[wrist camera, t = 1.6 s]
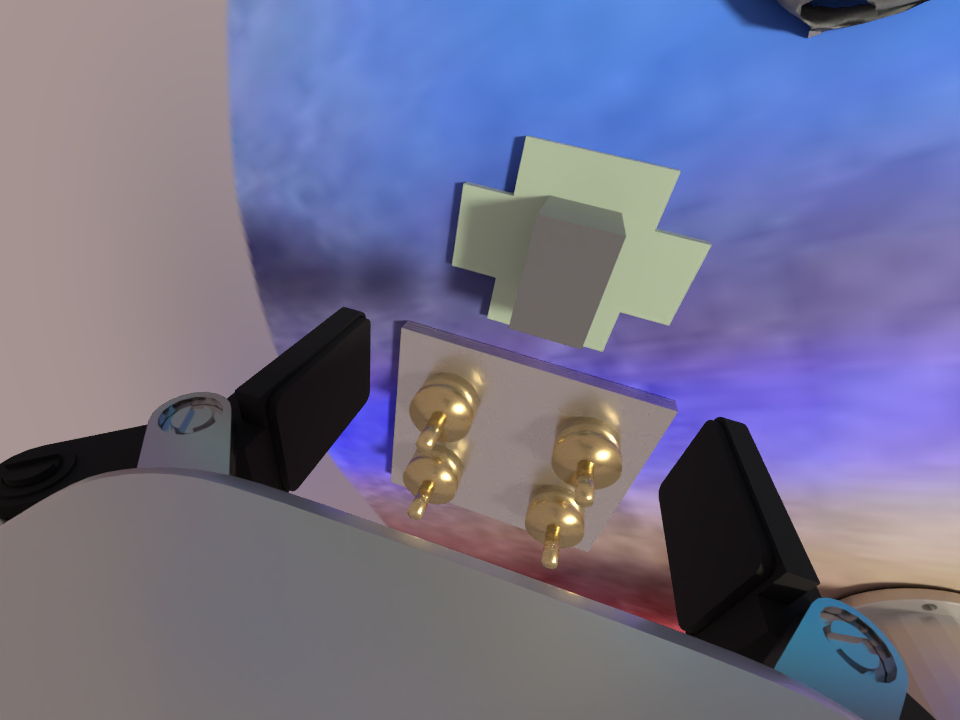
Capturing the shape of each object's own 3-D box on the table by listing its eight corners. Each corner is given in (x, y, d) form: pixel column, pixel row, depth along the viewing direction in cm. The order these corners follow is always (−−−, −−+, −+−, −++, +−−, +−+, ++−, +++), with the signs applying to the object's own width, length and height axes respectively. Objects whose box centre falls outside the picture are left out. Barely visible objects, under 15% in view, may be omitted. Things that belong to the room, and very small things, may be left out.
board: (738, 183, 19) (781, 204, 15) (646, 358, 26) (656, 413, 21) (475, 123, 21) (439, 125, 16) (449, 301, 27) (418, 340, 23)
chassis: (675, 400, 27) (693, 473, 21) (588, 540, 37) (586, 614, 31) (408, 320, 29) (363, 367, 24) (396, 472, 39) (362, 530, 34)
